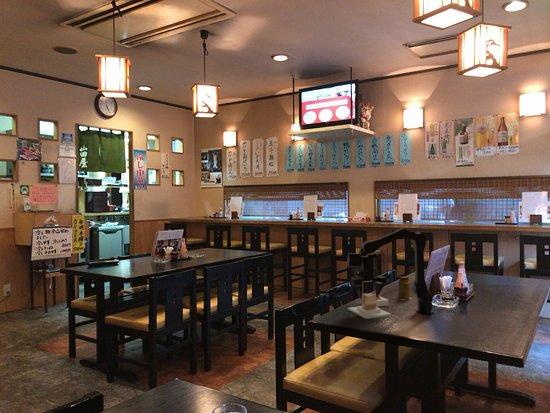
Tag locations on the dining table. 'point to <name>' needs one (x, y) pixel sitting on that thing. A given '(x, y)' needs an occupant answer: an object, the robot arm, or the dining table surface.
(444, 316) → the dining table surface
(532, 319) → the dining table surface
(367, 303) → the block
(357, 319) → the dining table surface
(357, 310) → the tray
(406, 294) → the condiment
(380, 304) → the button housing
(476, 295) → the dining table surface
